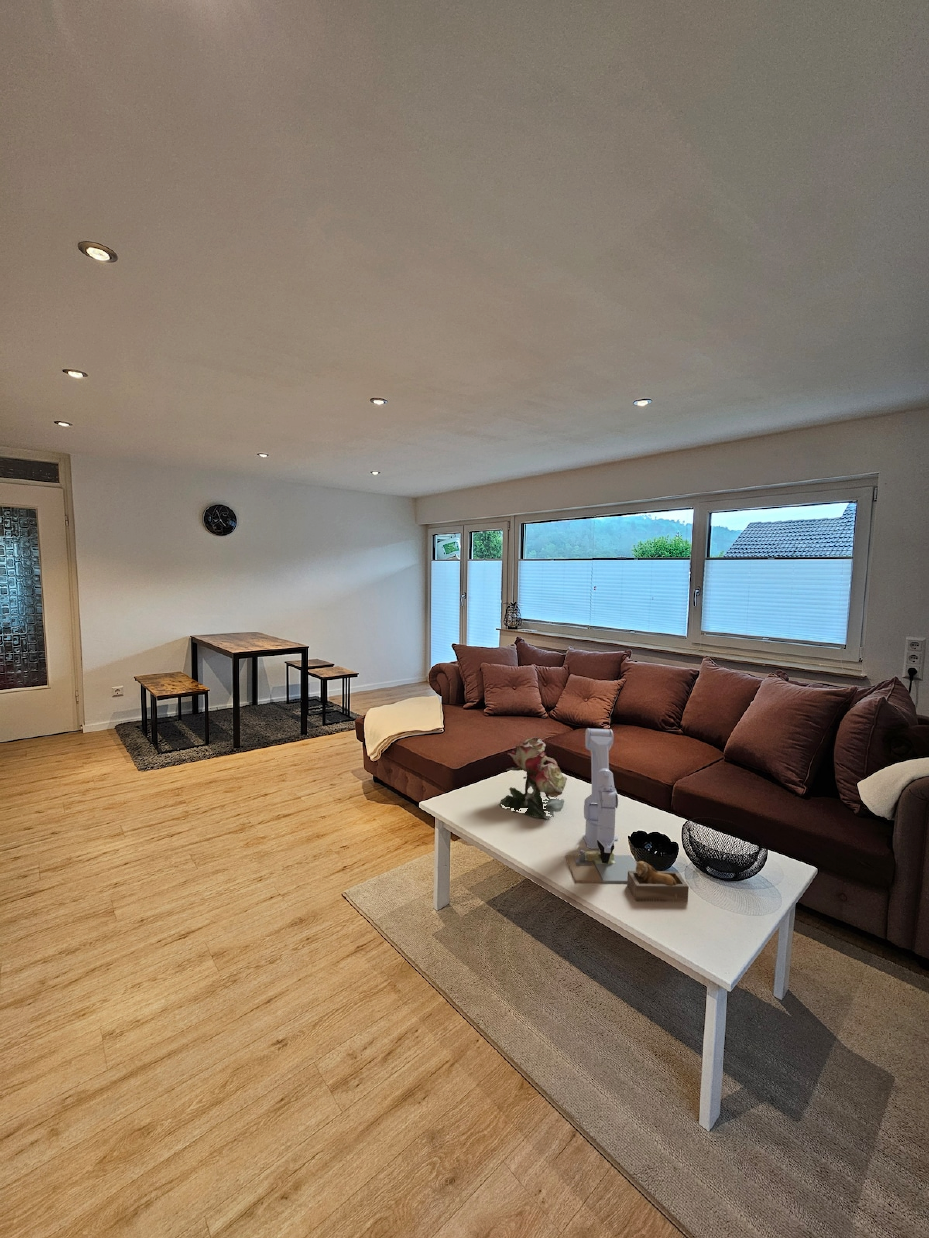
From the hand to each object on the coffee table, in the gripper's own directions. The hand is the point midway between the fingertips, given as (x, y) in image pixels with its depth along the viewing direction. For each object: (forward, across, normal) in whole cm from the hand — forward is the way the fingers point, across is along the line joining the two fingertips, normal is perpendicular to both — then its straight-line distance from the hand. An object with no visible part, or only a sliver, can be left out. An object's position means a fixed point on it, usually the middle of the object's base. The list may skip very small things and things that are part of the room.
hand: (604, 862), depth 179 cm
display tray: (+2, -12, -15) cm, 19 cm away
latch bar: (0, +2, +2) cm, 3 cm away
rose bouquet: (+2, +46, +26) cm, 53 cm away
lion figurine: (+2, -12, -15) cm, 19 cm away
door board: (+2, -1, 0) cm, 2 cm away
